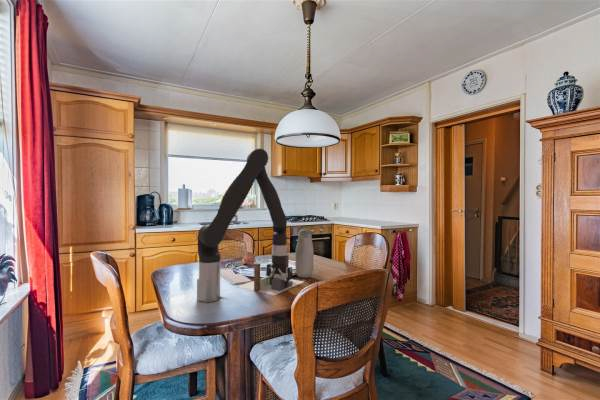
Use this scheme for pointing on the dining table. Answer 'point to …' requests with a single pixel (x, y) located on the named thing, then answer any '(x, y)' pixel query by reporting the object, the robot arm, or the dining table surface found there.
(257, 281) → the gate frame
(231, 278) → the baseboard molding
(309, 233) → the grey bottle
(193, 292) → the dining table surface
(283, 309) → the dining table surface
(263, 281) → the gate door
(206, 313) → the dining table surface
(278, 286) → the doorstop
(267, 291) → the floor mat
